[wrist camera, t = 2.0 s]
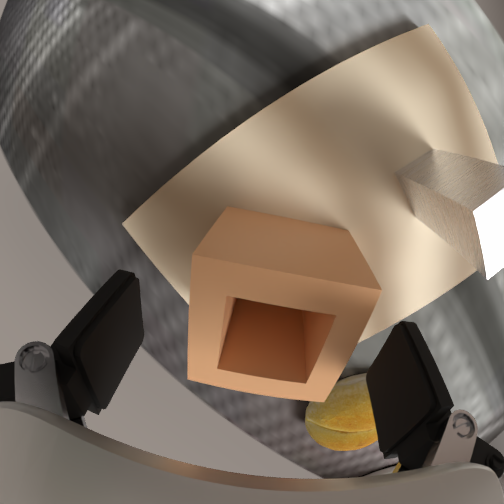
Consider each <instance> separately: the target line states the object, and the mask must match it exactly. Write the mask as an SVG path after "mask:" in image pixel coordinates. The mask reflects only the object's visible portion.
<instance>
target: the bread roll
mask: <svg viewBox="0 0 504 504" xmlns="http://www.w3.org/2000/svg"><path fill="white" fill-rule="evenodd" d="M366 374H367V373H363V374H359V375H354V376H350V377H347V378H344V379H342V380H340V381H338V382H336V383H335V385H334V387H333V389H332V390H331V392H330V394H329V395H328V397H327V398H326V400H325V402H314V401H310V403H309V405H308V406H307V408H306V417H305V424H306V428H307V431H308V433H309V434H310V436H311V437H312V438H313V439H314V440H315V441H316V442H317V443H318V444H320V445H322V446H324V447H327V448H329V449H332V450H339V451H348V450H356V449H360V448H363V447H366V446H368V445H370V444H372V443H374V442H375V441H377V440H378V437H377V431H376V426H375V421H374V416H373V411H372V406H371V401H370V396H369V392H368V388H367V383H366Z"/></svg>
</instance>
